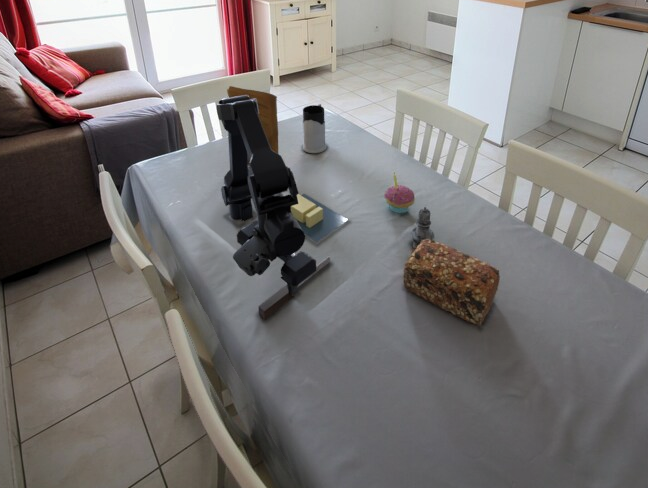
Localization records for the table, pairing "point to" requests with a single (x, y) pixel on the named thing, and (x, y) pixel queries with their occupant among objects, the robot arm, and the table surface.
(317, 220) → the butter slice
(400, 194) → the cupcake
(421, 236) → the grey figurine
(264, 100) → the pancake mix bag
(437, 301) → the bread
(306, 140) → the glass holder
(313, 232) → the butter dish
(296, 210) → the butter block
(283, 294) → the knife
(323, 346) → the table surface
